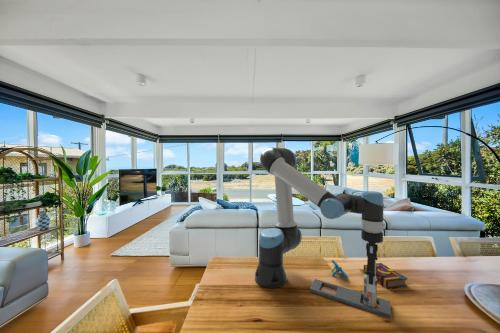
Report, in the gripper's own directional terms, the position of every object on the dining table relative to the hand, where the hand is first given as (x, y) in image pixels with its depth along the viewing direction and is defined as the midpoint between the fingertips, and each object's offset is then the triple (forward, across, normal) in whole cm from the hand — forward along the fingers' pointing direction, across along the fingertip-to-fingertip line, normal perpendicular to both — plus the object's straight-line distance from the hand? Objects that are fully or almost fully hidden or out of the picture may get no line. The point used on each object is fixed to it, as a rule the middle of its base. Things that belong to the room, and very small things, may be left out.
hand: (371, 283), depth 86 cm
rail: (+9, 0, +8) cm, 12 cm away
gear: (+9, +17, +15) cm, 24 cm away
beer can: (+9, 0, 0) cm, 9 cm away
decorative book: (+10, +26, -4) cm, 28 cm away
